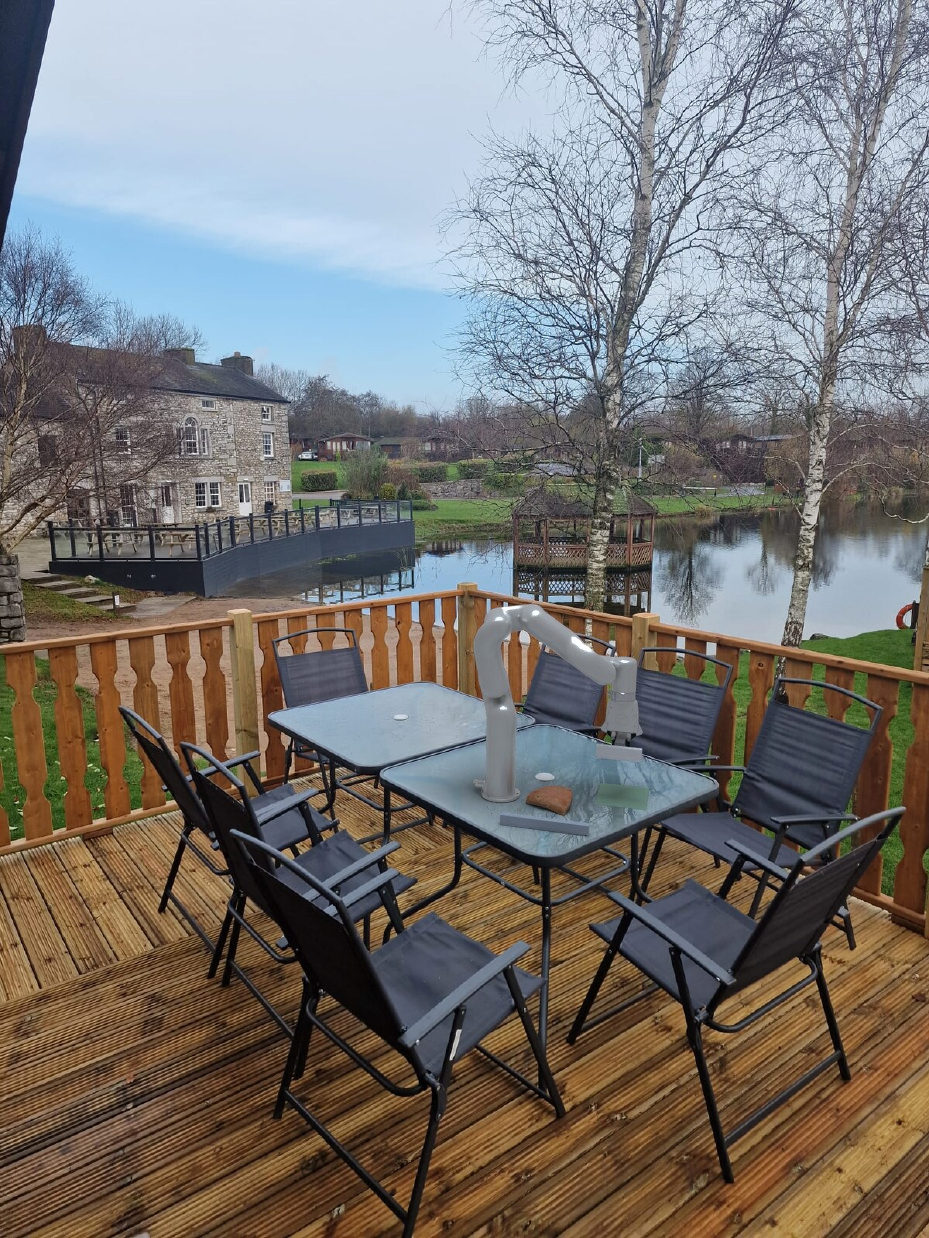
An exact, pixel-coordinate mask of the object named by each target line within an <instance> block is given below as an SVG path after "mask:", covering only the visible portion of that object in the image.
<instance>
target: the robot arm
mask: <svg viewBox="0 0 929 1238" xmlns="http://www.w3.org/2000/svg"><path fill="white" fill-rule="evenodd" d="M522 631H525V632H526V633H528V635H531V636H532V637H533V638H534V639H536V640H537V641H539V642H540V643H542V644H543V645H544V646H546V647H547V648H549V650H551V651H553V653H555V654H557V655H558V656H559V657H560V658H561V659H563V660H564V661H565V662H567V663H568V664H570V665H571V666H573V667H574V668H575V669H577V670H578V671H579V672H581V674H583V675H584V676H586V677H587V678H588V679H590V680H591V681H593V682H594V683H596V684H598V685H600V686H608V685H611V690H606V696H609V697H610V698H608V700H607V705H606V712H605V720H604V722H603V724H602V725H601V727H600V730H601V731H602V732H604V733H605V734H607V736H608V737H609V738H610V739H611V745H613V746H615V740H616V737H617V733H618V732H623V733H627V738H626V744H625V747H631V742H632V740H633V739H634V738H636V737H637V736H641V735H643V733H644V732H643V729H642V727H641V726H640V723H639V718H640V717H639V705H638V703H639V702H638V700H637V699H636V696H637V695H636V692H637V689H636V688H637V674H638V673H637V671H638V662H637V660H636V659H635V658H634V657H630V656H617V657H616V656H608V655H602V654H598V653H597V652H596V651H594V650H593V649H592V648H590V647H589V646H588V645H587V644H586V643H585V642H584V641H583V640H582V638H581V637H579V635H577V634H576V633H575V632H574V631H572V630H571V629H570V628H569V627H567V626H565V625H564V624H562V623H561V622H560V621H559V620H557V619H556V618H555V617H553V616H552V615H551V614H549V613H548V612H547V611H545V610H544V608H543V607H542V606H540V605H539V604H535V603H530V604H529V603H528V604H520V605H519V604H518V605H511V606H500V607H495V608H492V609H491V610H488V612H486V614H485V616H484V620H483V623H482V625H480V627H479V628H478V629H477V631H476V634H475V636H474V638H473V647H472V648H473V654H474V655H473V656H474V658H475V659H474V660H475V666H476V671H477V674H478V675H477V677H478V679H477V680H478V685H479V687H480V690H481V695H482V696H481V697H482V699H483V704H484V708H485V716H486V717H485V719H486V731H485V732H486V733H485V734H486V736H485V738H486V739H485V752H486V753H485V778H484V779H479V778H478V779H477V778H474V779H473V782H472V783H473V786H474V787H475V788H478V789H481V790H480V795H481V797H482V798H483V799H485V800H486V801H489V802H493V803H510V802H513V801H515V800H518V799H519V798H520V796H521V791H520V789H519V788H518V787H516V776H517V775H516V773H517V772H516V770H517V769H516V766H517V765H516V764H517V759H516V757H517V729H518V728H517V727H518V715H517V710H516V707H515V704H514V700H513V695H512V690H511V685H510V681H509V680H510V679H509V675H508V672H507V669H506V668H505V664H504V659H503V655H502V654H503V653H502V649H501V648H502V644H503V641H505V639H507V638H508V637H509V636H510V635H511V633H514V632H522Z"/></svg>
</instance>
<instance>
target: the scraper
mask: <svg viewBox="0 0 929 1238" xmlns="http://www.w3.org/2000/svg"><path fill="white" fill-rule="evenodd" d="M626 738H627V733H623V732H617V733H616V740H615V746H613V745H612V744H603V743H596V746H595V758H598V759H607V760H617V761H623V762H624V761H626V762H632V763H633V762H634V763H635V762H636V763H642V760H643V759H642V758H643V748H640V747H631V746H630V747H625V744H626Z"/></svg>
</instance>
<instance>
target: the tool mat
mask: <svg viewBox="0 0 929 1238" xmlns="http://www.w3.org/2000/svg"><path fill="white" fill-rule="evenodd" d="M649 794H650V788H649V787H641V786H633V785H623V784H615V783H608V782H607V783H606V782H600V783H599V787H598V790H597V793H596V796H595V800H594V802H593V803H594V805H601V806H607V807H616V808H625V809H633V810H642V811H647V807H648V801H649V796H650V795H649Z"/></svg>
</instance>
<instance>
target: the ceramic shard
mask: <svg viewBox="0 0 929 1238" xmlns="http://www.w3.org/2000/svg"><path fill="white" fill-rule="evenodd" d="M572 798H573V791H572V789H571V788H570V787H566V786H562V785H547V786H542V787H540V788H537V789H534V790H532V791H530V792H529V793H528V794H527V795H526V797H525V802H526V803H525V804H527V805H534V806H537V807H538V806H539V807H541V808H543V809H545V808H546V809H548V810H550V811H552V812H555V813H556V814H558V815H561V816H565V815H567V812H568V811H569V809H570V807H571V805H572V803H571V802H572Z"/></svg>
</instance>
